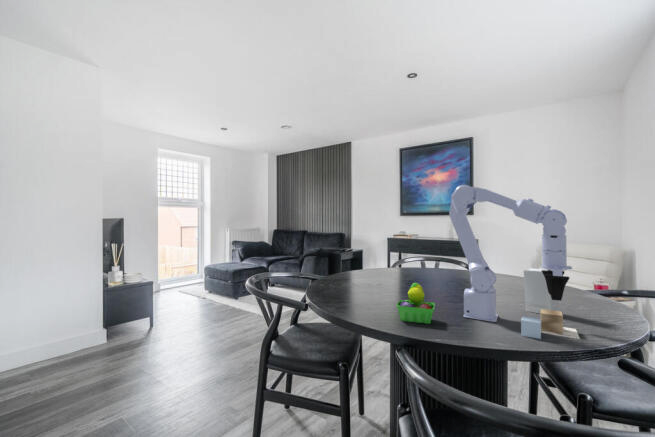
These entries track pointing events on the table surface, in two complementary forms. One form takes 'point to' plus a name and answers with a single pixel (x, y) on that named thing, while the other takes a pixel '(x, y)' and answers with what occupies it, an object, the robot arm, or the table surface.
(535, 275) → the skincare box
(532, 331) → the blue cube
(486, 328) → the table surface
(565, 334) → the letter
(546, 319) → the oak block
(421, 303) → the fruit basket
